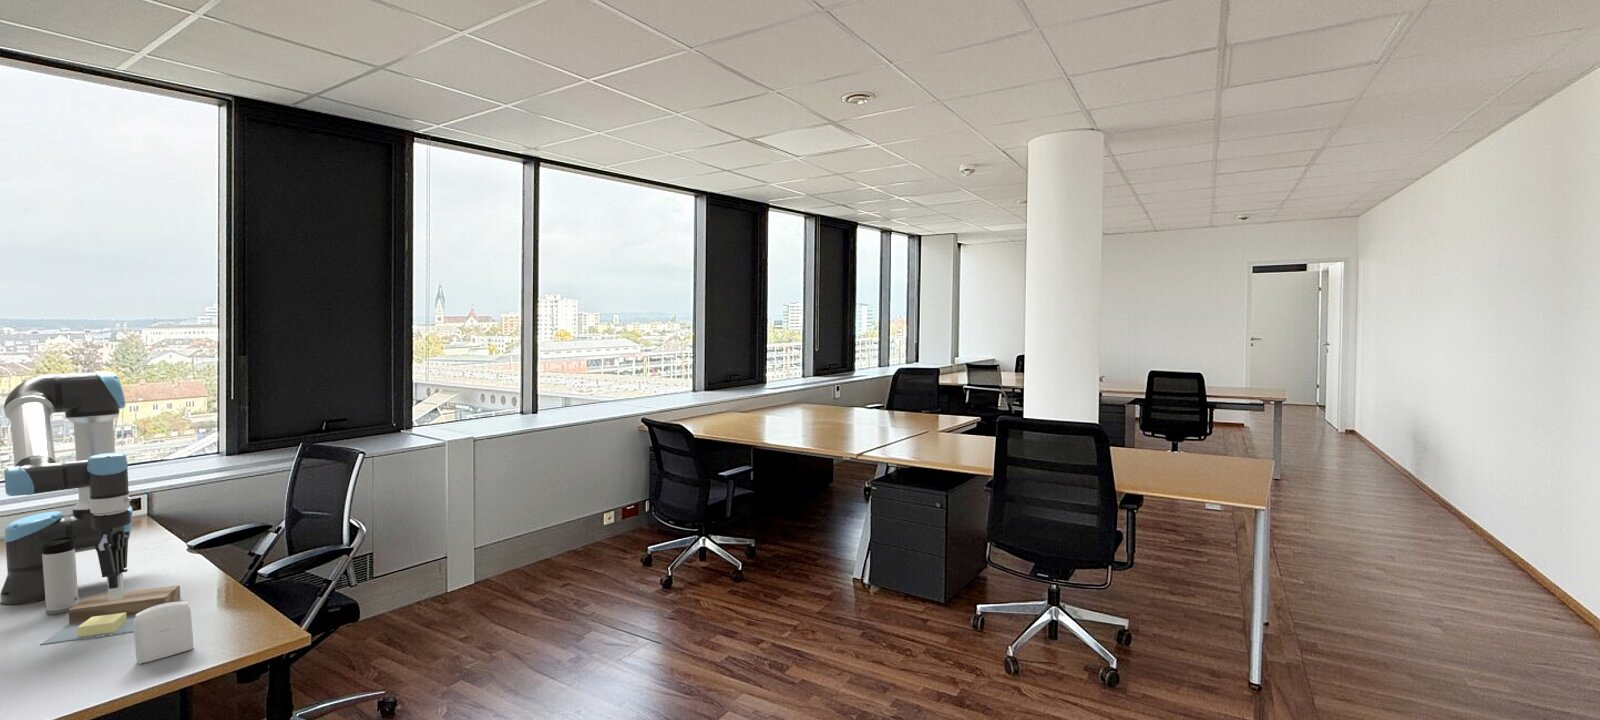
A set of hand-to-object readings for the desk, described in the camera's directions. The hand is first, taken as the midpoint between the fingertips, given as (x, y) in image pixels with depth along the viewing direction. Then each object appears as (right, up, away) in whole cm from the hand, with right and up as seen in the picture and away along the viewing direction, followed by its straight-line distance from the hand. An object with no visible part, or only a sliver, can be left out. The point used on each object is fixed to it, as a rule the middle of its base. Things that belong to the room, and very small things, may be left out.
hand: (116, 598), depth 190 cm
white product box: (+32, -7, -21) cm, 39 cm away
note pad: (+3, -3, -7) cm, 8 cm away
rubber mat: (+2, -6, -5) cm, 8 cm away
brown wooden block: (-2, -5, +5) cm, 8 cm away
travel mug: (-21, -6, +7) cm, 23 cm away
